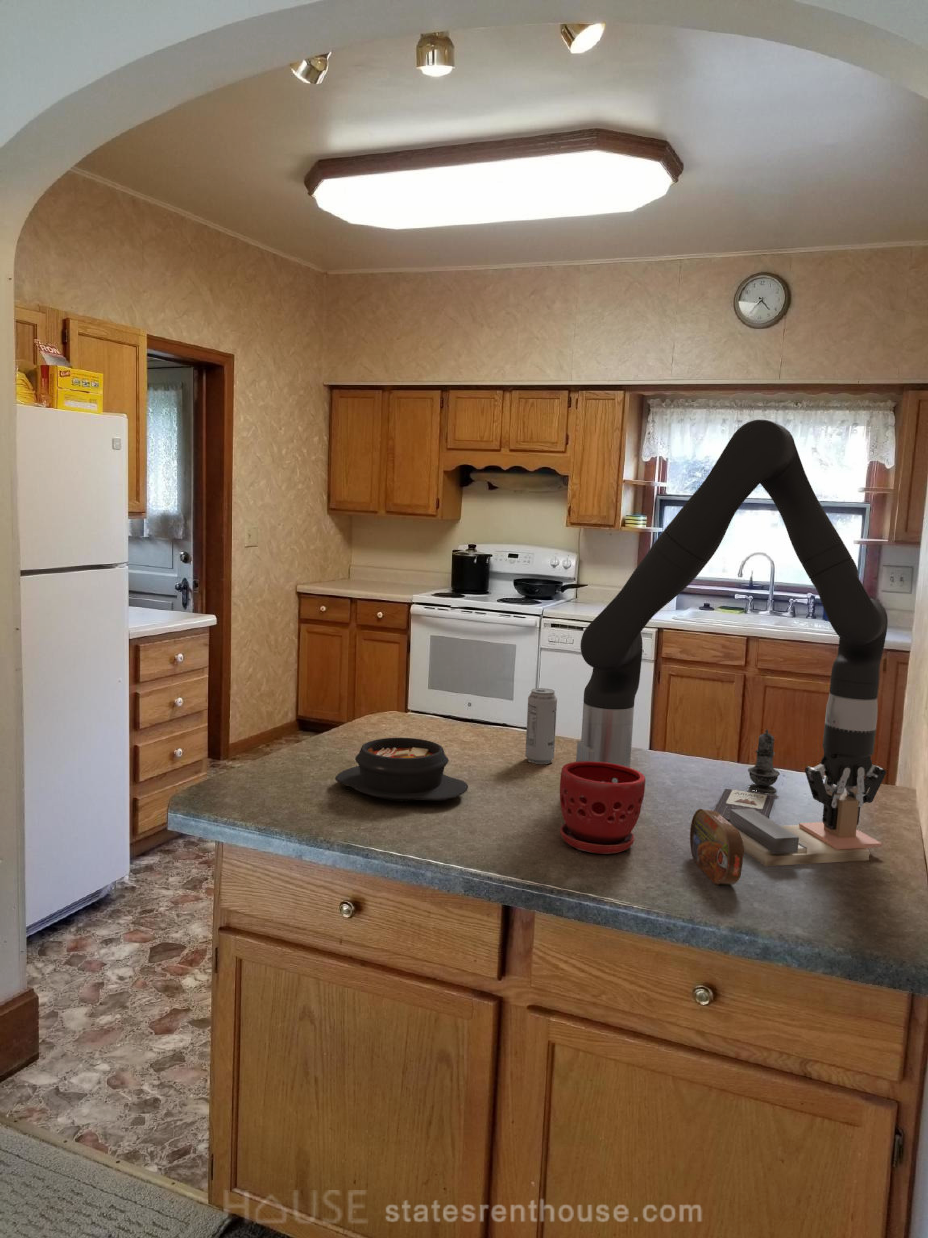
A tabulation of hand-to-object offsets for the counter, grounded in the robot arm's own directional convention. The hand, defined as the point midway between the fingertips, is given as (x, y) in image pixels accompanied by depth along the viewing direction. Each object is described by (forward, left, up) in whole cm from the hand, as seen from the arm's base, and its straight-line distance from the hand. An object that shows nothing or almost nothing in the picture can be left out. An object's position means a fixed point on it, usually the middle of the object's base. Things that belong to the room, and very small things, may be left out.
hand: (840, 827), depth 143 cm
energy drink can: (-34, +52, -3) cm, 62 cm away
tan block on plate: (0, 0, -2) cm, 2 cm away
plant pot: (-39, +6, -3) cm, 40 cm away
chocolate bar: (-6, +19, -4) cm, 20 cm away
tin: (-26, -7, -3) cm, 27 cm away
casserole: (-66, +35, -3) cm, 75 cm away
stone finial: (+4, +29, -3) cm, 29 cm away
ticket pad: (-8, 0, -3) cm, 8 cm away
